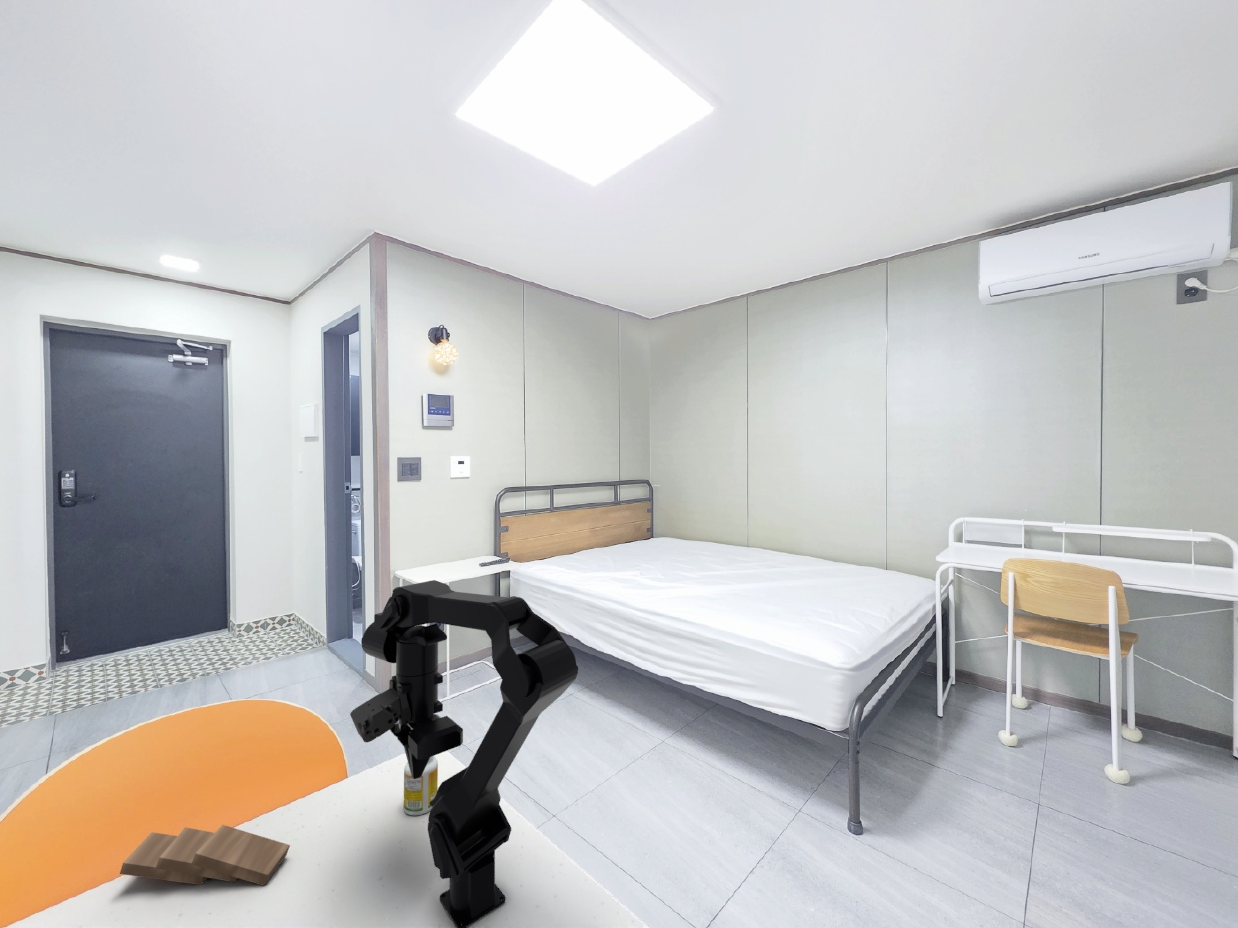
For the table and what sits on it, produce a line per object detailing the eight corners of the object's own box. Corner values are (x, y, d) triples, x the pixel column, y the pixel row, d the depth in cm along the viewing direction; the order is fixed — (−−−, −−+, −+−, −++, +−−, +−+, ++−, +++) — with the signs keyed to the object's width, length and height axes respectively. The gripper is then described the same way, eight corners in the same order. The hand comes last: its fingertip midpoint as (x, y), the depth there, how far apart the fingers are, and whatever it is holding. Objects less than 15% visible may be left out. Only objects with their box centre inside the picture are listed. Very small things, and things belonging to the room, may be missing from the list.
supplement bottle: (408, 821, 80) (408, 761, 81) (399, 803, 85) (400, 746, 85) (441, 807, 84) (442, 750, 84) (432, 791, 88) (432, 736, 88)
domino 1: (226, 843, 73) (151, 831, 71) (204, 873, 68) (123, 862, 66) (223, 853, 73) (148, 842, 71) (201, 884, 68) (119, 873, 66)
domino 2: (258, 840, 73) (185, 827, 71) (238, 871, 68) (159, 857, 66) (254, 850, 73) (181, 837, 71) (234, 881, 68) (155, 868, 66)
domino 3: (290, 844, 73) (222, 824, 72) (268, 874, 68) (195, 853, 67) (286, 854, 73) (218, 834, 72) (264, 885, 68) (191, 863, 67)
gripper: (340, 665, 74) (339, 770, 74) (377, 708, 60) (376, 838, 60) (415, 648, 82) (415, 743, 81) (464, 682, 68) (464, 798, 67)
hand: (416, 776), depth 72 cm, fingers closed
